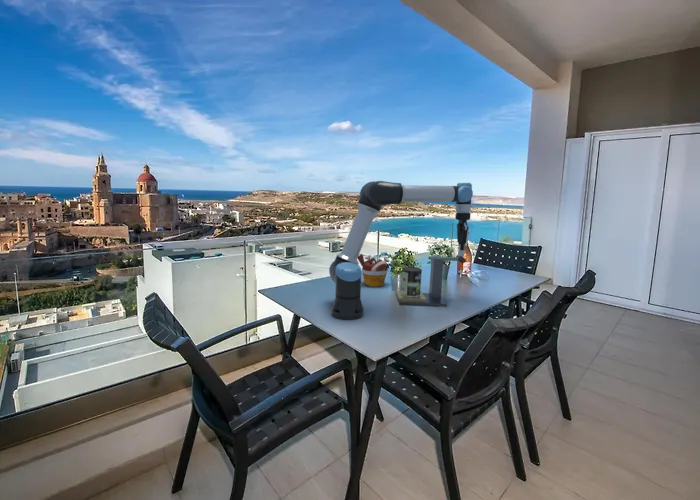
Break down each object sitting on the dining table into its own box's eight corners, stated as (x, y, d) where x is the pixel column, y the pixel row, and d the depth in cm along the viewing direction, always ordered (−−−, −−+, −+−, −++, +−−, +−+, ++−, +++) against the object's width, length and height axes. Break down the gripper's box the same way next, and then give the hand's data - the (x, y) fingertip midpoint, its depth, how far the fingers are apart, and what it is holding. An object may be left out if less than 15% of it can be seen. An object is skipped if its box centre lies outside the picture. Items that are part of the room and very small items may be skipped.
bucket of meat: (384, 280, 211) (385, 251, 208) (392, 287, 195) (394, 255, 192) (354, 281, 207) (355, 251, 204) (360, 289, 191) (361, 256, 188)
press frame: (399, 305, 164) (401, 260, 160) (395, 294, 182) (397, 253, 178) (446, 306, 164) (449, 261, 160) (438, 295, 181) (441, 255, 177)
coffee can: (423, 294, 174) (425, 268, 171) (415, 298, 166) (416, 272, 163) (406, 290, 180) (407, 266, 177) (397, 294, 172) (398, 269, 169)
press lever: (432, 263, 171) (432, 256, 171) (429, 260, 179) (429, 253, 178) (465, 264, 171) (466, 256, 170) (460, 261, 179) (461, 254, 178)
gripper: (474, 212, 164) (472, 258, 168) (466, 211, 176) (464, 253, 180) (459, 213, 164) (457, 258, 168) (452, 211, 177) (450, 253, 181)
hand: (460, 255), depth 174 cm, fingers closed
